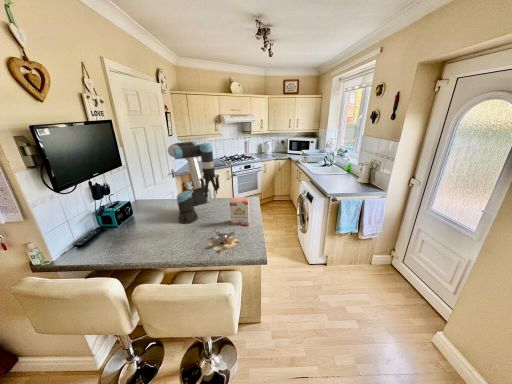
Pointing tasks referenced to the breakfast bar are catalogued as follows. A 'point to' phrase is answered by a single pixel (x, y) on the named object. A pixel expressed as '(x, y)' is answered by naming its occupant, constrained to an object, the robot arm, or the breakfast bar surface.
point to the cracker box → (239, 211)
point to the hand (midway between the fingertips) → (211, 199)
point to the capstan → (223, 238)
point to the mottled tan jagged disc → (224, 247)
